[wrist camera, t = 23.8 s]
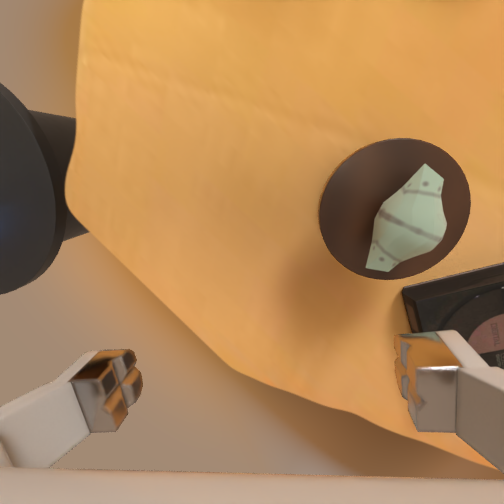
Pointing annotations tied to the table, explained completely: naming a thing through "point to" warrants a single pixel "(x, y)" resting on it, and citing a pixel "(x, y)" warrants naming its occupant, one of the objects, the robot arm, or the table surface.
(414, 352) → the robot arm
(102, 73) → the table surface
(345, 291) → the table surface
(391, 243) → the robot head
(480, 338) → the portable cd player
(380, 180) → the brown round base
